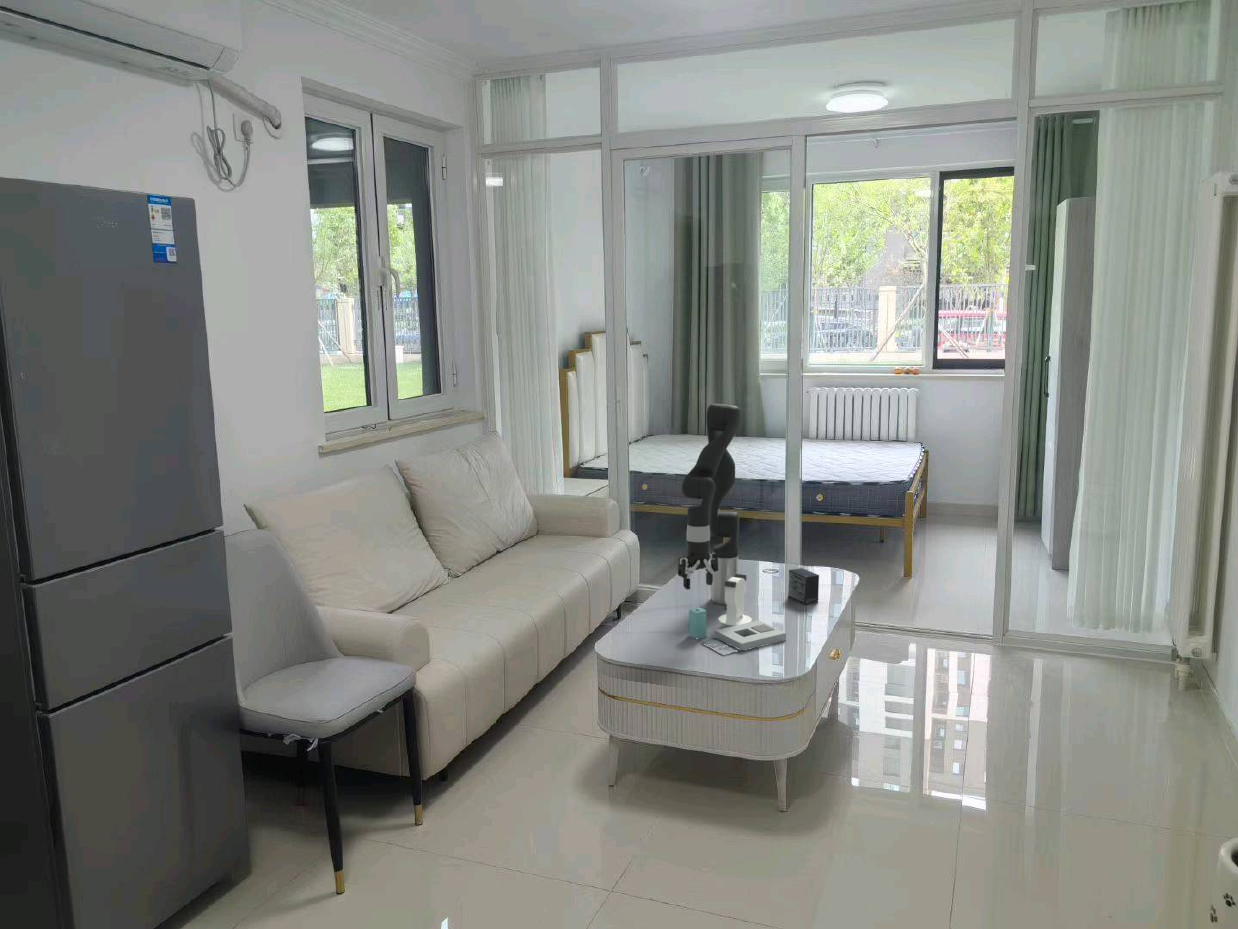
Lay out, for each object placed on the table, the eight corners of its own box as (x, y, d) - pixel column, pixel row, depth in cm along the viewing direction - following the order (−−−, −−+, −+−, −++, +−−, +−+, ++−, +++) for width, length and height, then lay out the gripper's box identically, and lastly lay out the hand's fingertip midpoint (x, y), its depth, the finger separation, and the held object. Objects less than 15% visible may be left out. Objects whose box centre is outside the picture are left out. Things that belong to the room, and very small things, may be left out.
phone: (723, 657, 288) (723, 654, 288) (700, 645, 298) (700, 642, 298) (738, 653, 291) (738, 650, 291) (716, 641, 301) (716, 638, 301)
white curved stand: (726, 612, 327) (726, 571, 325) (757, 617, 322) (757, 575, 319) (713, 622, 317) (713, 580, 314) (744, 628, 312) (745, 584, 309)
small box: (819, 602, 336) (820, 574, 335) (804, 605, 334) (805, 577, 332) (801, 594, 346) (802, 567, 344) (787, 597, 343) (788, 569, 341)
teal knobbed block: (689, 635, 305) (689, 607, 304) (699, 633, 307) (699, 605, 306) (696, 639, 302) (696, 611, 300) (706, 637, 304) (706, 608, 302)
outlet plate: (714, 637, 303) (714, 629, 303) (758, 627, 312) (758, 619, 312) (741, 651, 291) (741, 643, 291) (786, 640, 300) (786, 632, 300)
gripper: (709, 532, 305) (709, 580, 308) (673, 538, 298) (673, 587, 301) (723, 537, 299) (722, 586, 302) (686, 543, 292) (686, 593, 295)
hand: (698, 586), depth 301 cm, fingers open, 8 cm apart
